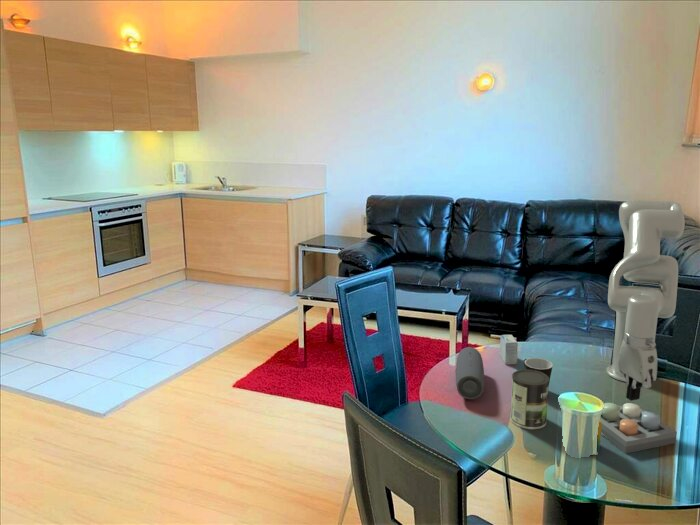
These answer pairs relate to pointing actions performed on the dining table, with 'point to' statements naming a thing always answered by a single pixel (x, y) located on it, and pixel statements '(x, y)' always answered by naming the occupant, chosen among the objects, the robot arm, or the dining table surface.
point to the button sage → (611, 411)
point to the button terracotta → (628, 427)
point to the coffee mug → (539, 365)
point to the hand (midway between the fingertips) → (632, 398)
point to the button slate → (650, 420)
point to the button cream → (631, 410)
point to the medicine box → (508, 349)
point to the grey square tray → (643, 437)
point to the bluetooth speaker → (469, 373)
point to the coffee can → (529, 399)
